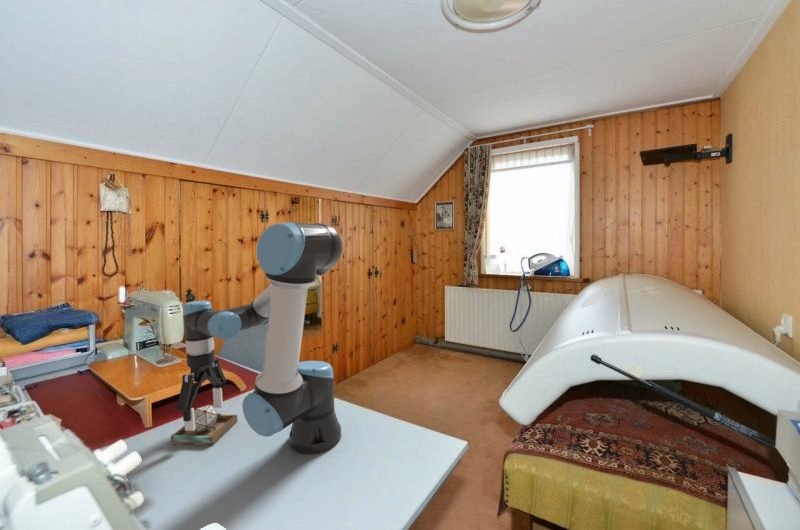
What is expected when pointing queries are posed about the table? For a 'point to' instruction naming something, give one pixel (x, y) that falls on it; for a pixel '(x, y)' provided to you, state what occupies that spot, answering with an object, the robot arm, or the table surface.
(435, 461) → the table surface
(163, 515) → the table surface
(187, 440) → the brown wooden tray
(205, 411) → the game die
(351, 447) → the table surface
